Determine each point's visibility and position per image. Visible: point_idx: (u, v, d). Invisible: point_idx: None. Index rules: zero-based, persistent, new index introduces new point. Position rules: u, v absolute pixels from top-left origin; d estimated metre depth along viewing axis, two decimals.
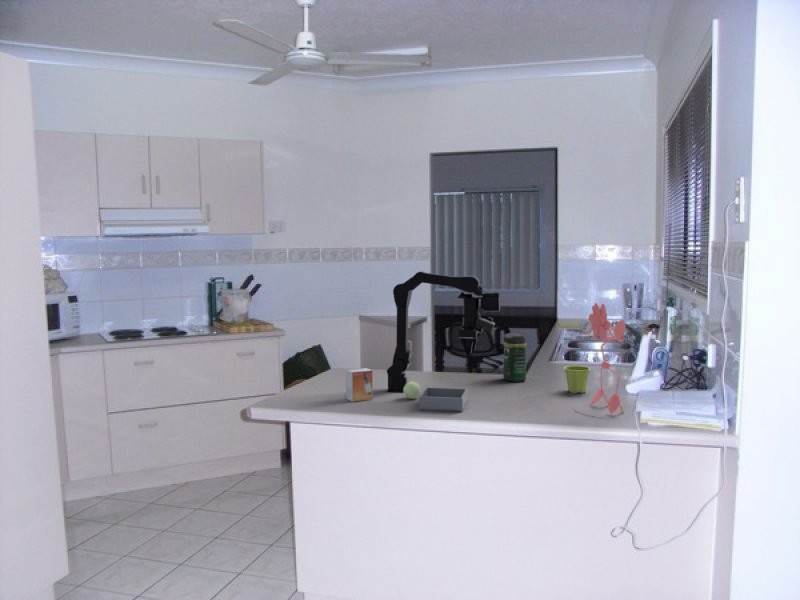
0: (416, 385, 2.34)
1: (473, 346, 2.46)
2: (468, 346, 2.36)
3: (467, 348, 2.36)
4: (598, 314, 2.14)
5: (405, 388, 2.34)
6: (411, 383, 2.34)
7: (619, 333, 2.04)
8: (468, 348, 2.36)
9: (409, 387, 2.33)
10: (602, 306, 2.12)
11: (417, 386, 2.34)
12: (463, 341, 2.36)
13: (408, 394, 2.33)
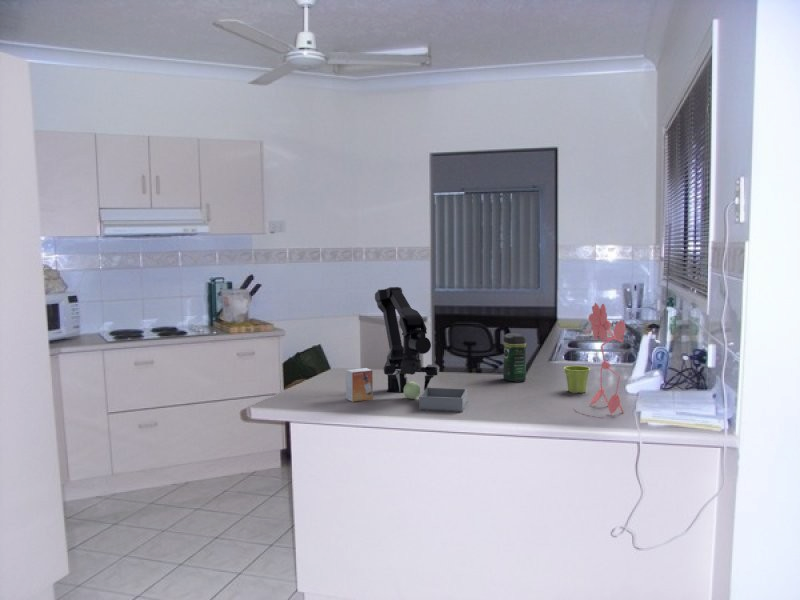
0: (416, 385, 2.34)
1: (424, 388, 2.35)
2: None
3: None
4: (598, 314, 2.14)
5: (405, 388, 2.34)
6: (411, 383, 2.34)
7: (619, 333, 2.04)
8: None
9: (409, 387, 2.33)
10: (602, 306, 2.12)
11: (417, 386, 2.34)
12: None
13: (408, 394, 2.33)
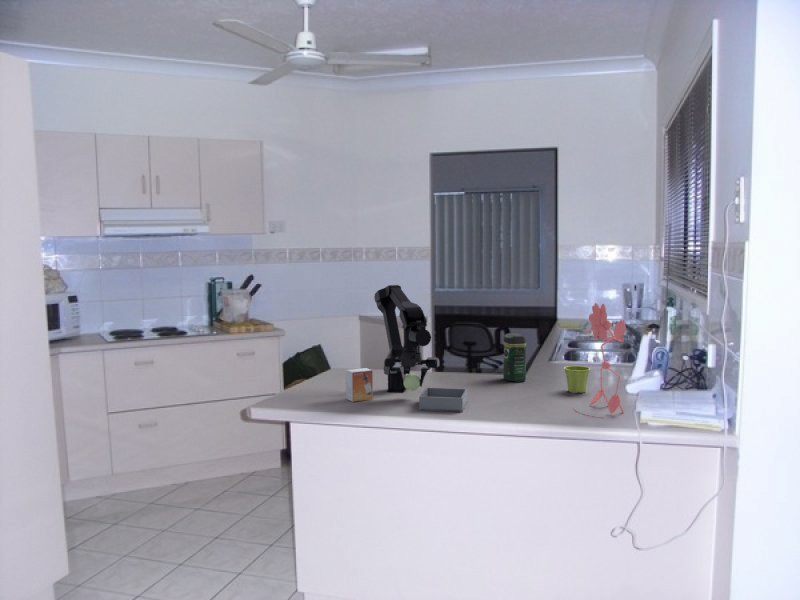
0: (416, 377, 2.34)
1: None
2: None
3: None
4: (598, 314, 2.14)
5: (405, 380, 2.34)
6: (411, 375, 2.34)
7: (619, 333, 2.04)
8: None
9: (409, 379, 2.33)
10: (602, 306, 2.12)
11: (417, 378, 2.34)
12: None
13: (408, 386, 2.33)
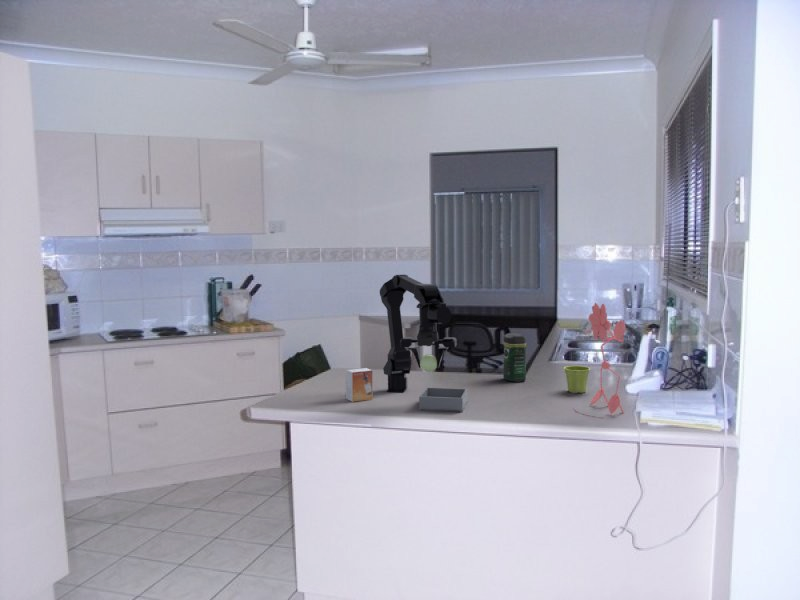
0: (433, 358, 2.27)
1: None
2: None
3: None
4: (598, 314, 2.14)
5: (422, 360, 2.27)
6: (428, 355, 2.27)
7: (619, 333, 2.04)
8: None
9: (426, 359, 2.26)
10: (602, 306, 2.12)
11: (434, 359, 2.27)
12: None
13: (425, 366, 2.26)
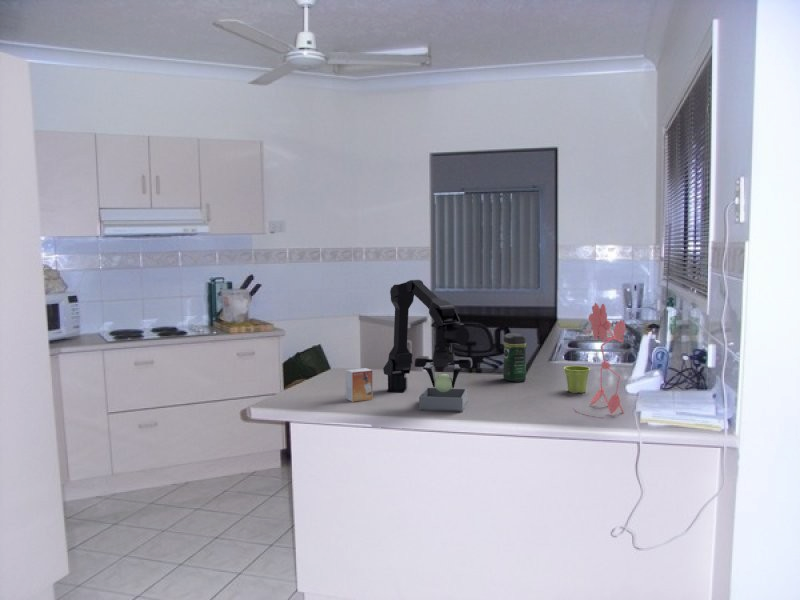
0: (448, 378, 2.23)
1: None
2: None
3: None
4: (598, 314, 2.14)
5: (437, 380, 2.23)
6: (443, 376, 2.23)
7: (619, 333, 2.04)
8: None
9: (441, 380, 2.22)
10: (602, 306, 2.12)
11: (449, 379, 2.23)
12: None
13: (440, 387, 2.22)
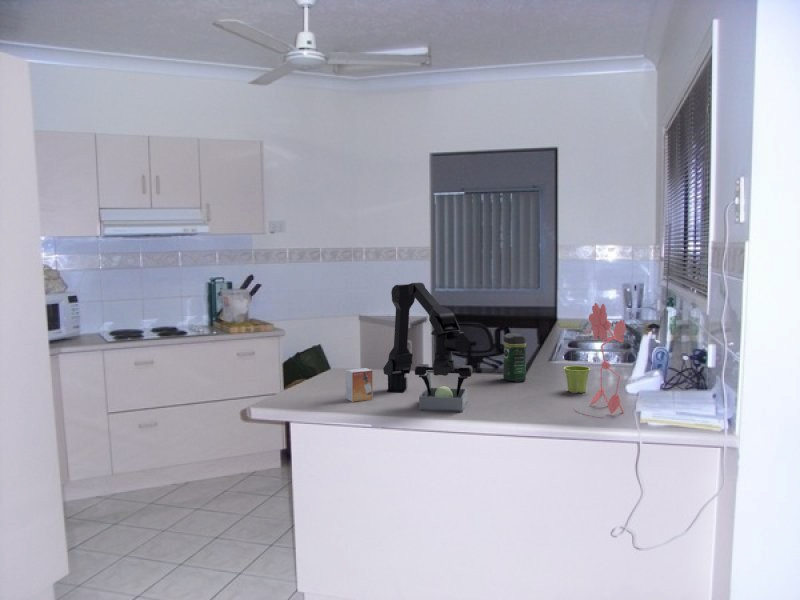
0: (448, 390, 2.23)
1: None
2: None
3: None
4: (598, 314, 2.14)
5: (437, 393, 2.23)
6: (443, 388, 2.23)
7: (619, 333, 2.04)
8: None
9: (441, 392, 2.22)
10: (602, 306, 2.12)
11: (449, 391, 2.23)
12: None
13: None
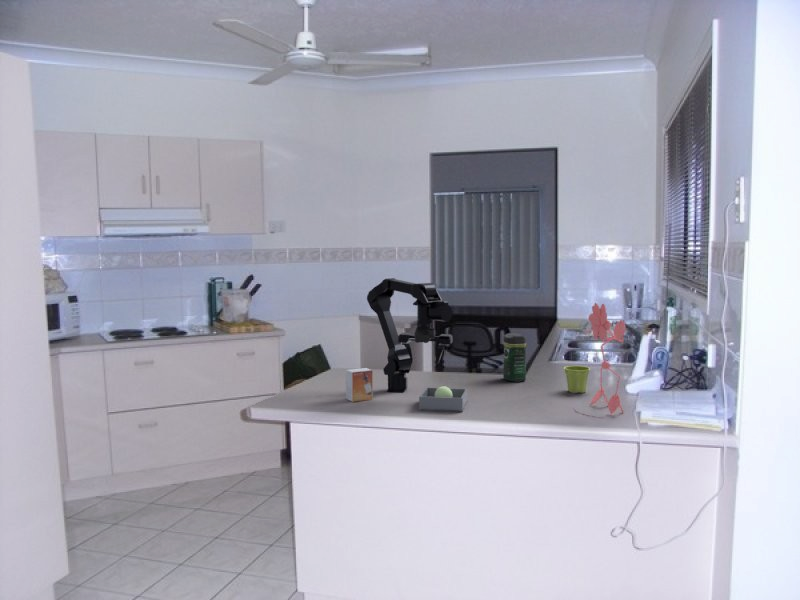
0: (448, 390, 2.23)
1: (437, 357, 2.36)
2: None
3: None
4: (598, 314, 2.14)
5: (437, 393, 2.23)
6: (443, 388, 2.23)
7: (619, 333, 2.04)
8: None
9: (441, 392, 2.22)
10: (602, 306, 2.12)
11: (449, 391, 2.23)
12: None
13: None
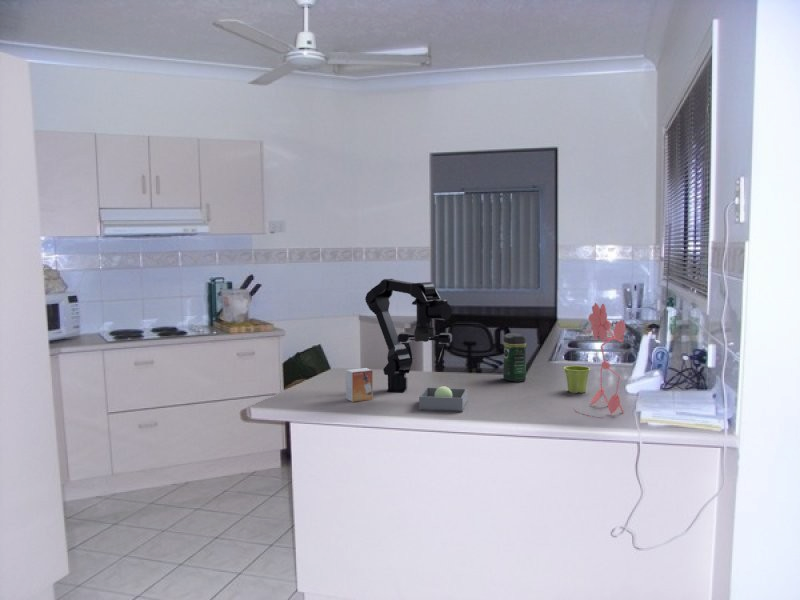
0: (448, 390, 2.23)
1: (437, 356, 2.37)
2: None
3: None
4: (598, 314, 2.14)
5: (436, 393, 2.23)
6: (443, 388, 2.23)
7: (619, 333, 2.04)
8: None
9: (441, 392, 2.22)
10: (602, 306, 2.12)
11: (449, 391, 2.23)
12: None
13: None
